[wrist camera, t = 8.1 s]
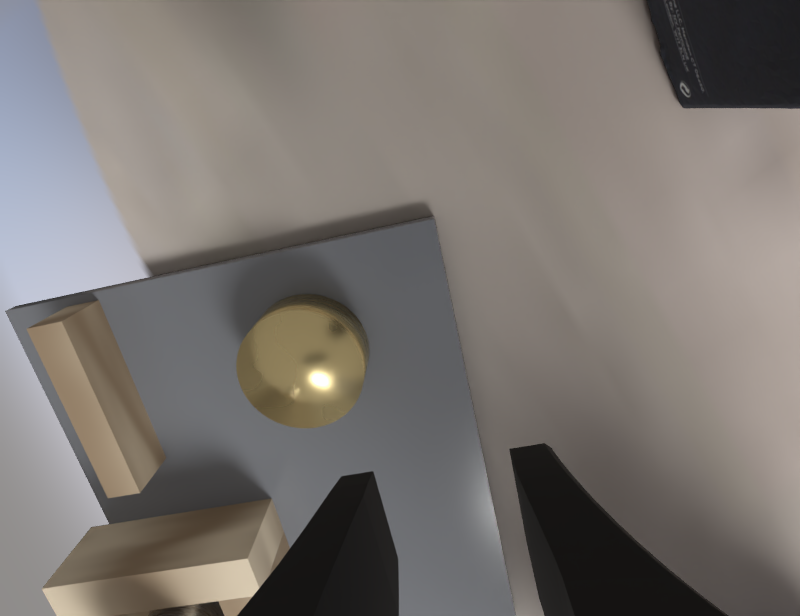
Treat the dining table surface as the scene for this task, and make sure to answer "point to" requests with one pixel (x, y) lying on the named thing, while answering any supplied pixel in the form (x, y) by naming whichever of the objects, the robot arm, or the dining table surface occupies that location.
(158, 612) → the steel pin
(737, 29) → the small box
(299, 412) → the gold metal dome
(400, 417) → the slate board
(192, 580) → the beech socket block
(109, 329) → the beech rail
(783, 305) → the dining table surface
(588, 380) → the dining table surface
